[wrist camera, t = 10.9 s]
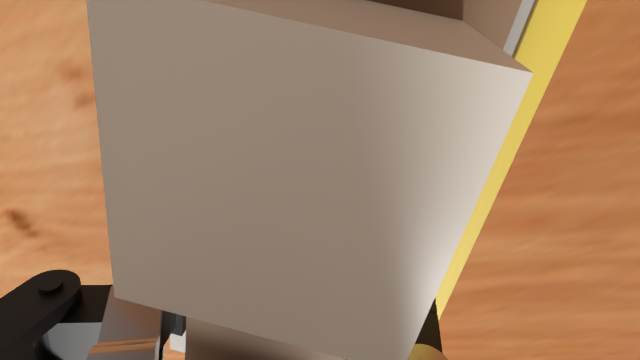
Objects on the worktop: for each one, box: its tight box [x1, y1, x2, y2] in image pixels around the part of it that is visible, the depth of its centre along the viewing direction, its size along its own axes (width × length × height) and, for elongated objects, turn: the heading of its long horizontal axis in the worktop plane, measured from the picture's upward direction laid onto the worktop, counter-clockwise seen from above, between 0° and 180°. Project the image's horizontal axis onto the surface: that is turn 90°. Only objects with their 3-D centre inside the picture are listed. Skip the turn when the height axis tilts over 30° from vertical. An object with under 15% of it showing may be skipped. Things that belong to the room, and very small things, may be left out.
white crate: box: [86, 0, 534, 360], centre depth 6 cm, size 4×4×4 cm
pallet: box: [185, 0, 522, 360], centre depth 13 cm, size 6×18×4 cm, turn 169°
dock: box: [170, 0, 587, 353], centre depth 17 cm, size 12×20×3 cm, turn 169°
